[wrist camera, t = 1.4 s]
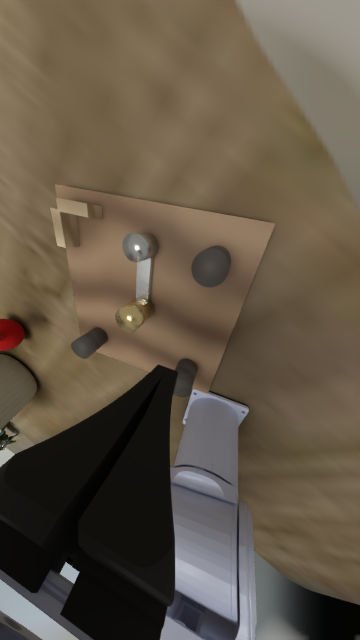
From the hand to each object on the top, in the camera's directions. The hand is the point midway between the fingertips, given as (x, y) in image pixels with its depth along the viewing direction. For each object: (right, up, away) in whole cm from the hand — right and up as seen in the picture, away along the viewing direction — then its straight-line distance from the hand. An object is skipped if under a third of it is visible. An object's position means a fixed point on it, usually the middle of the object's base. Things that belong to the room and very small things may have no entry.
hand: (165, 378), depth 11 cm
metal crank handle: (-3, +8, +7) cm, 11 cm away
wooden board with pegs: (-3, +6, +10) cm, 12 cm away
